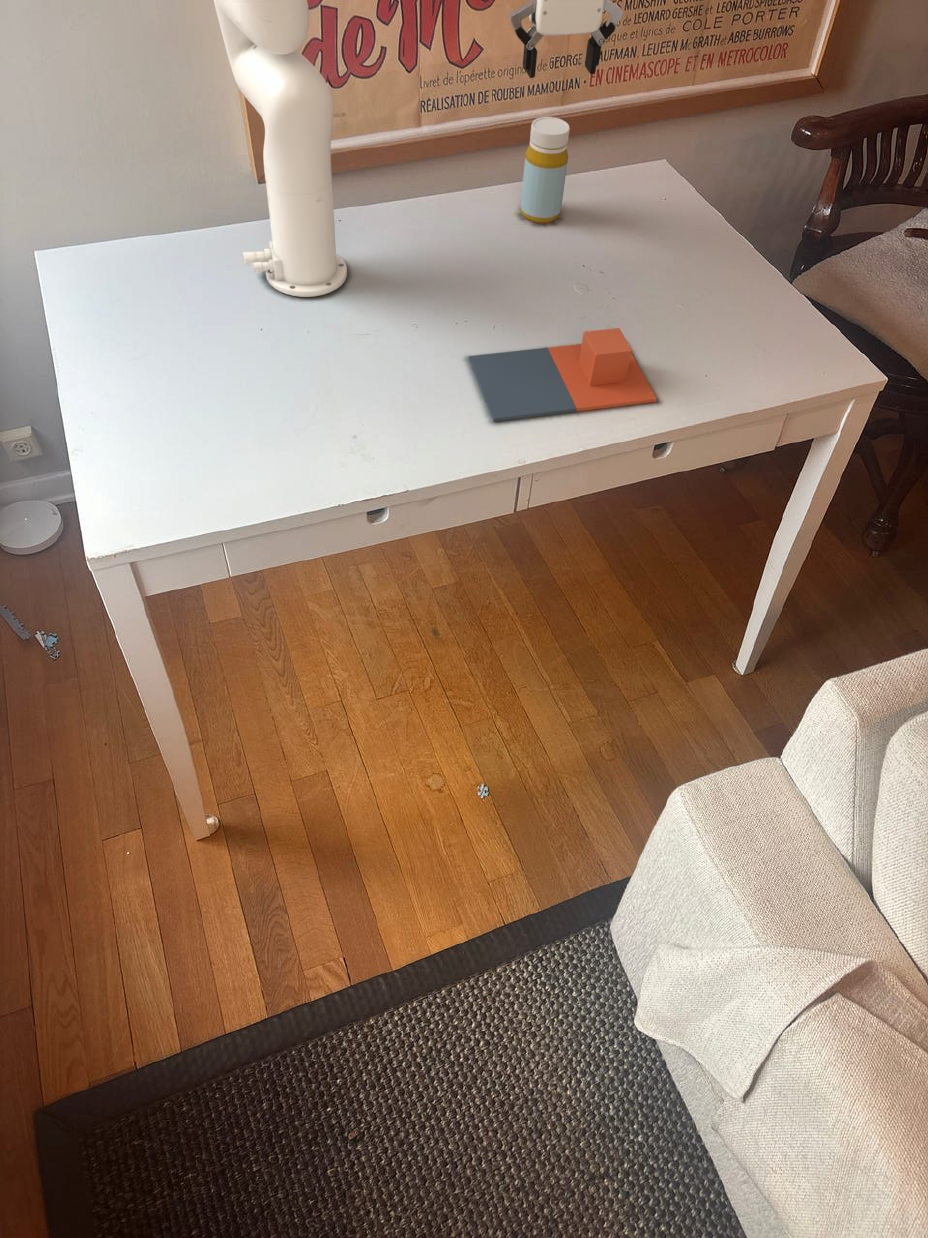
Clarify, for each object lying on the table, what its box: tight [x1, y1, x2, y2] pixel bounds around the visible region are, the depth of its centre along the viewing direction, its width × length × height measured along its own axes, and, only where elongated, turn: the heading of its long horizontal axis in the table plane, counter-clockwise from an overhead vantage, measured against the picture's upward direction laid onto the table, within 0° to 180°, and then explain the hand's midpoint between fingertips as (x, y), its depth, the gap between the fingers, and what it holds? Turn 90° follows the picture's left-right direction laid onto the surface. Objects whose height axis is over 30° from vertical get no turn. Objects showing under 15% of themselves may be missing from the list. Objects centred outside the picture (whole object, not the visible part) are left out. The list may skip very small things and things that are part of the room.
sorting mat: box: [468, 343, 658, 423], centre depth 138 cm, size 24×14×1 cm, turn 104°
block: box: [578, 327, 633, 386], centre depth 137 cm, size 5×5×5 cm
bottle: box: [519, 116, 571, 224], centre depth 160 cm, size 7×7×15 cm
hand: (559, 72), depth 148 cm, fingers open, 9 cm apart
